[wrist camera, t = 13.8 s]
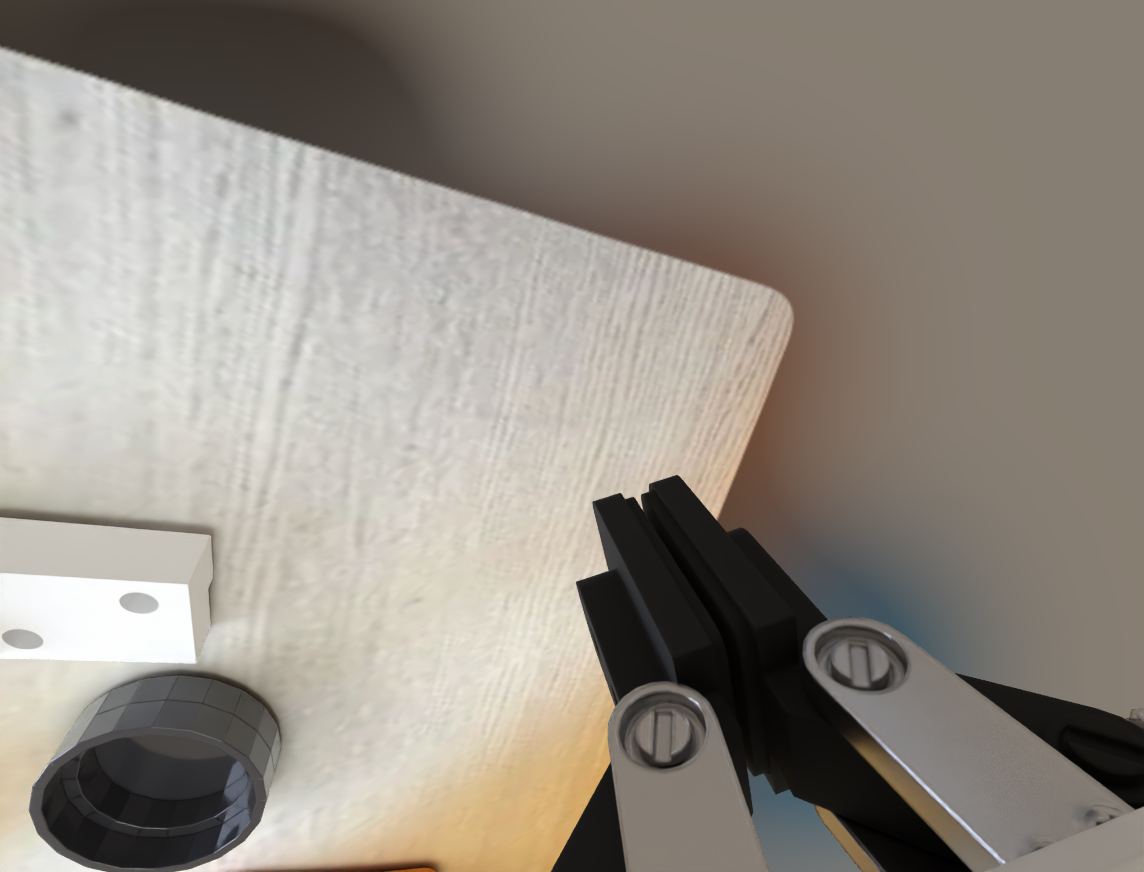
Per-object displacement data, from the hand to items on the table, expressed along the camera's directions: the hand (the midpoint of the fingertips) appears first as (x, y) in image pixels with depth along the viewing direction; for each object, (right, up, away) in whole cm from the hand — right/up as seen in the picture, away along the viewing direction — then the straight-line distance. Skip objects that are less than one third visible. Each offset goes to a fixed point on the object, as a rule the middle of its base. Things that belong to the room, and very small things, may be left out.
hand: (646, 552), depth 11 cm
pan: (-27, -18, +28) cm, 43 cm away
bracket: (-29, -6, +23) cm, 38 cm away
